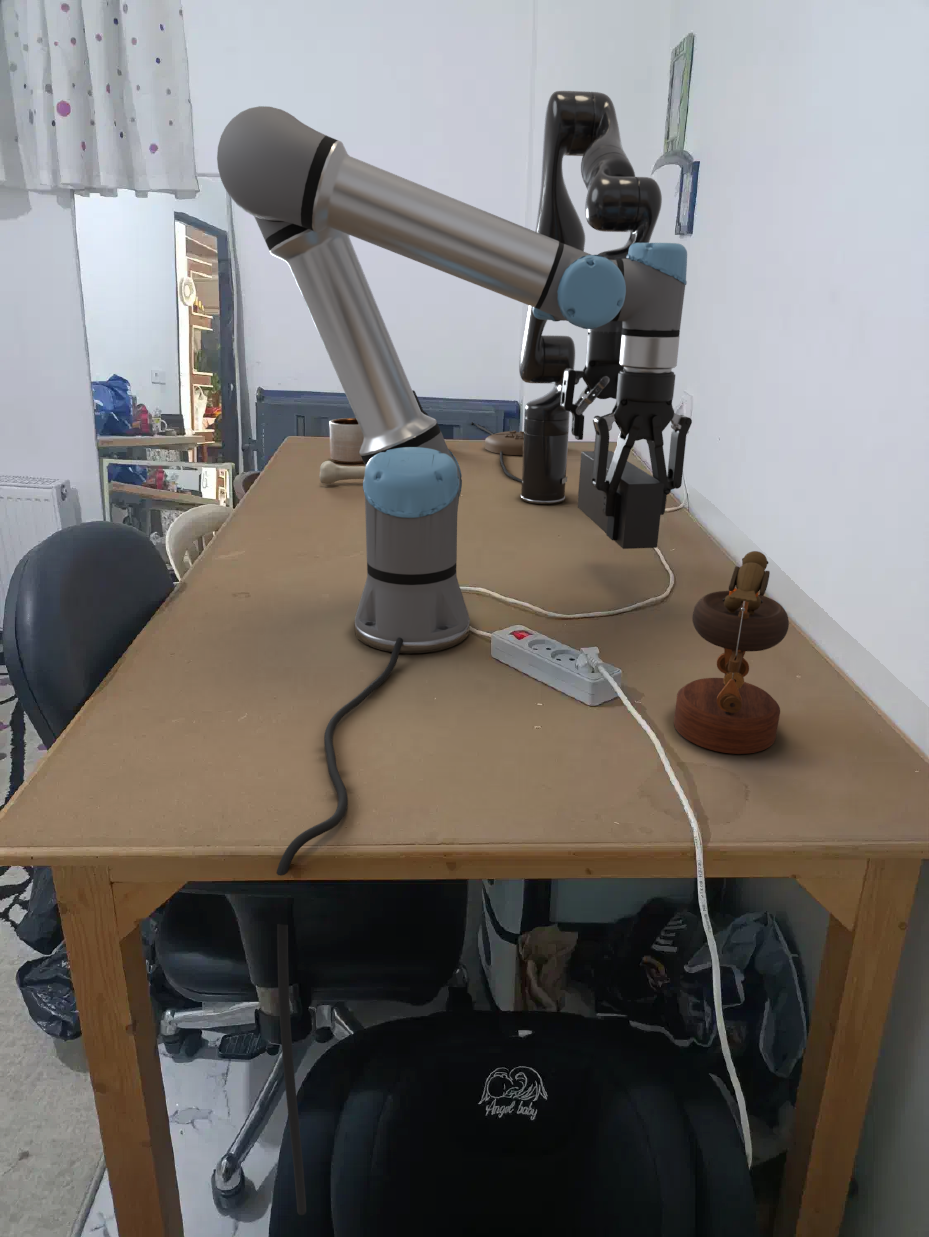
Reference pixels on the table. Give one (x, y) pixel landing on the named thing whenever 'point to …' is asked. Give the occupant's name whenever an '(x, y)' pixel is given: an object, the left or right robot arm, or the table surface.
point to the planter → (345, 440)
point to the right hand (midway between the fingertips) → (605, 438)
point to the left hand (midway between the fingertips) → (631, 536)
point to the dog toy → (339, 472)
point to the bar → (624, 503)
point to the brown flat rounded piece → (506, 443)
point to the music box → (734, 665)
